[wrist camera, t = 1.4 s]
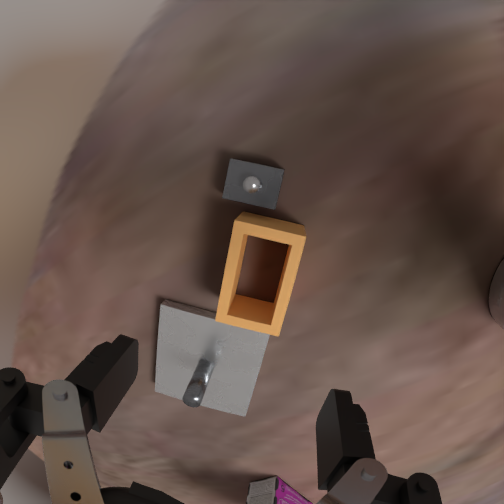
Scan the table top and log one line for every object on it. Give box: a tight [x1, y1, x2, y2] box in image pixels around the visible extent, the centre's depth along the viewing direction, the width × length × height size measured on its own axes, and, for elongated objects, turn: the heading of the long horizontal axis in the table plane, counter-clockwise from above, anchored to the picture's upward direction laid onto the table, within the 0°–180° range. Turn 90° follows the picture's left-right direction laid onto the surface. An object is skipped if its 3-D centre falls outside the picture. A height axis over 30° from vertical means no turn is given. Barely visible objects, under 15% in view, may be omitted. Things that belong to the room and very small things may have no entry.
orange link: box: [215, 211, 306, 336], centre depth 25 cm, size 5×8×4 cm, turn 168°
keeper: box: [155, 299, 270, 416], centre depth 27 cm, size 10×11×6 cm
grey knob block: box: [222, 159, 285, 210], centre depth 23 cm, size 4×3×3 cm
